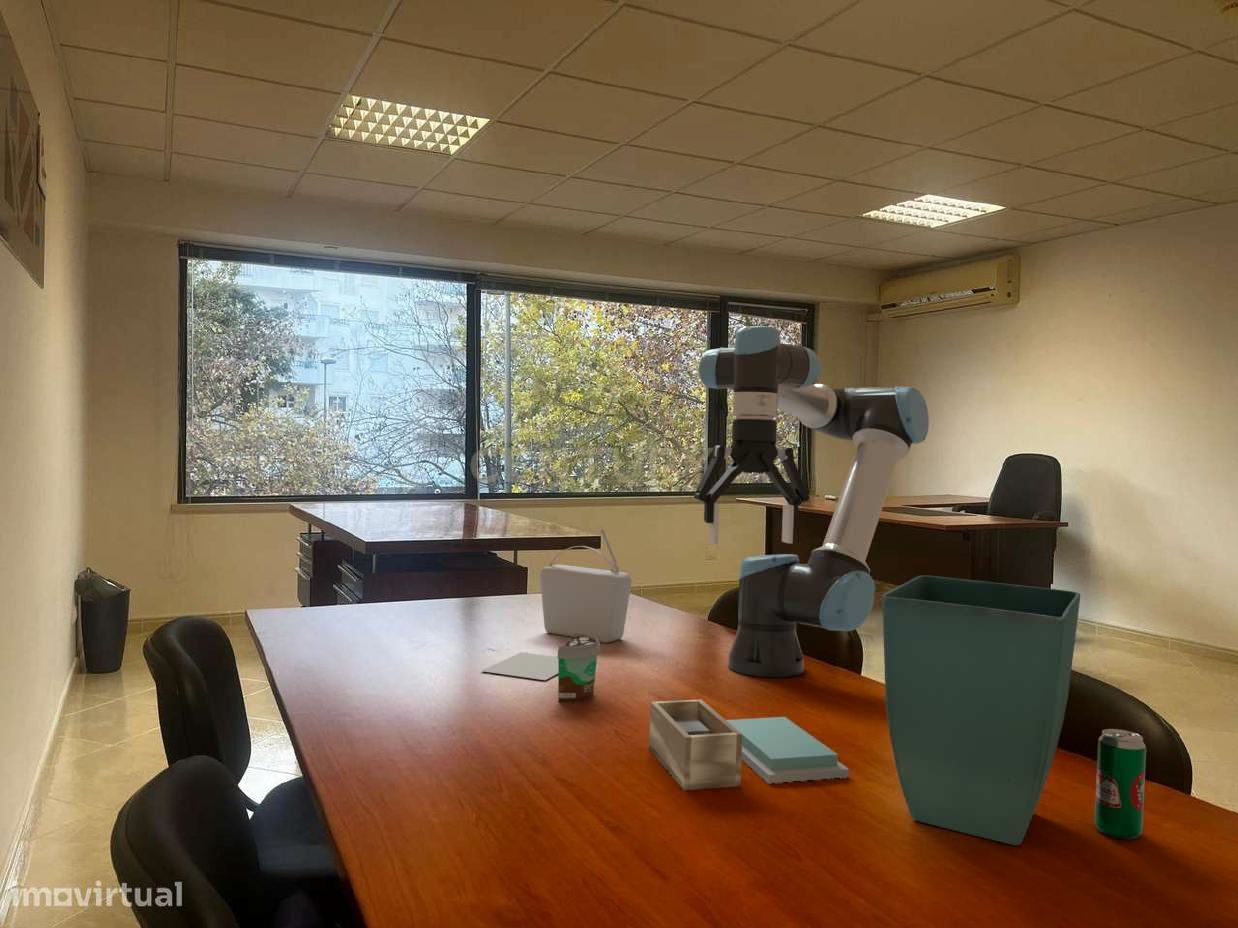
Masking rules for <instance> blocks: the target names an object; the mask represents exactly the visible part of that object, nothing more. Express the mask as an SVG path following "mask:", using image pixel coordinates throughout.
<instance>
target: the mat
mask: <svg viewBox="0 0 1238 928" xmlns="http://www.w3.org/2000/svg"><path fill="white" fill-rule="evenodd" d="M742 762H744V763H745V764H746V765H747V766H748V767H751V768H752V769H751V768H750V769H751V770H752V771H754V772H755V773H756V774H757V775H758V776H759V777H760V778H761V779H762V778H763V779H764V780H763V779H762V780H763V781H765V782H766V783H767V784H768V785H772V783H775V784H784V783H783V782H788V783H794V782H793V781H801V782H808V781H807V780H814V781H823V780H822V779H827V780H835V779H834V778H840V779H848V778H847V777H850V776H849V774H850V770H849V768H848V767H847V766H845V765H844V764H843V763H842V762H839V761H838V760H837V766H829V767H815V768H801V769H787V770H773V771H771V770H770V769H769V768H767V767H766V766H765V765H764V764H763V763H762V762H761V761H759V760H758V759H757V758H756V757H755V756H754V755H753V754H751V753H750V752H749V751H748V750H747V749H746V748H745V747H743V746H742ZM831 778H832V779H831Z"/></svg>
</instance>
